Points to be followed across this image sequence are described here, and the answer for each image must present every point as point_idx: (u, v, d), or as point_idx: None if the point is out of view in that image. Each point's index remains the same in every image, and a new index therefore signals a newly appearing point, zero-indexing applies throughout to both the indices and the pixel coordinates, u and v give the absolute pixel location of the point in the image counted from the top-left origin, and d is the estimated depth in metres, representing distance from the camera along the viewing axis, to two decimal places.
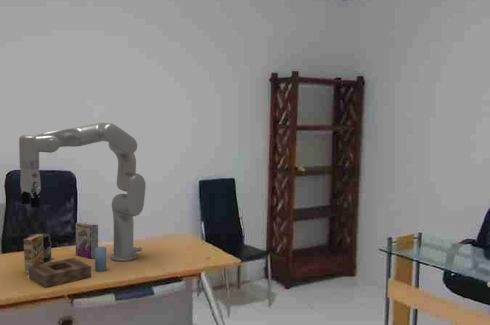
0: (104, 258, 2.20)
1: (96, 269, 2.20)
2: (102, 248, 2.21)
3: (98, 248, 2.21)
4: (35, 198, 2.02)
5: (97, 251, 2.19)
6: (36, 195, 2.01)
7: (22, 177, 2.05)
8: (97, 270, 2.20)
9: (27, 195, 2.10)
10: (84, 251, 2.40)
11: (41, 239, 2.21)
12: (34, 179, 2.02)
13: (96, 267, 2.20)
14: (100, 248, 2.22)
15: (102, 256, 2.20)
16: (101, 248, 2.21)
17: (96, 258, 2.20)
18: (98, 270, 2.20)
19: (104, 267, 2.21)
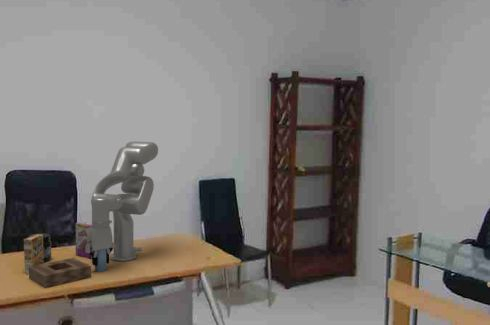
0: (104, 258, 2.20)
1: (96, 269, 2.20)
2: None
3: None
4: None
5: (97, 251, 2.19)
6: None
7: (100, 237, 2.18)
8: (97, 270, 2.20)
9: None
10: (84, 251, 2.40)
11: (41, 239, 2.21)
12: None
13: (96, 267, 2.20)
14: None
15: (102, 256, 2.20)
16: None
17: None
18: (98, 270, 2.20)
19: (104, 267, 2.21)
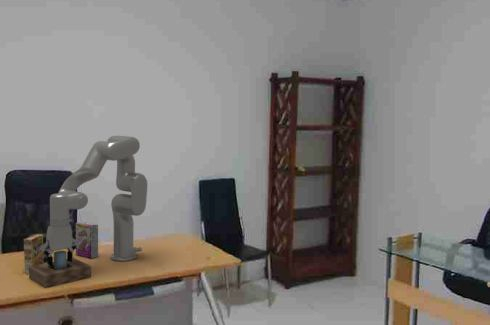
0: (63, 262, 2.09)
1: None
2: (61, 252, 2.10)
3: (57, 252, 2.10)
4: None
5: (55, 255, 2.08)
6: None
7: (59, 236, 2.06)
8: None
9: None
10: (84, 251, 2.40)
11: (41, 239, 2.21)
12: None
13: None
14: (60, 251, 2.10)
15: (61, 260, 2.08)
16: (60, 252, 2.10)
17: (55, 262, 2.08)
18: None
19: None
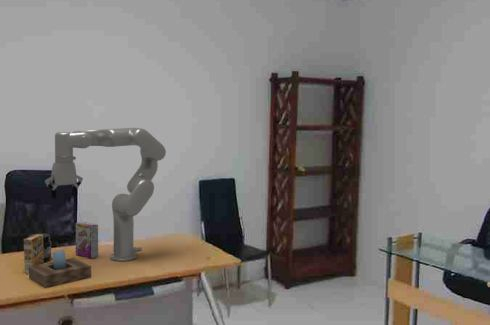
0: (62, 262, 2.09)
1: None
2: (60, 251, 2.10)
3: (56, 252, 2.10)
4: None
5: (53, 255, 2.08)
6: None
7: (64, 172, 2.18)
8: None
9: None
10: (84, 251, 2.40)
11: (41, 239, 2.21)
12: None
13: None
14: (59, 251, 2.10)
15: (59, 260, 2.08)
16: (59, 251, 2.10)
17: (53, 262, 2.09)
18: None
19: None
